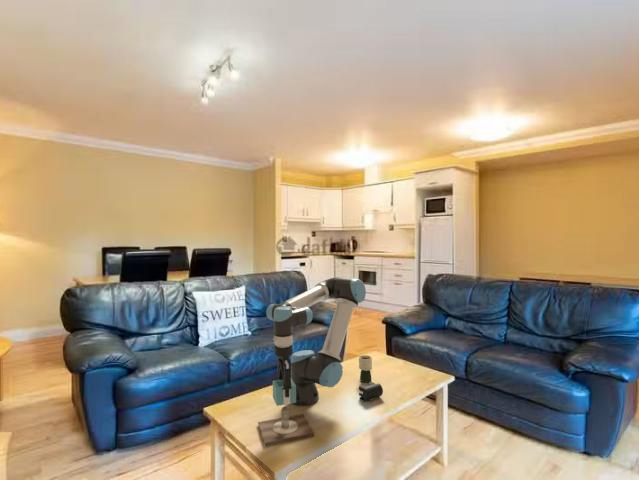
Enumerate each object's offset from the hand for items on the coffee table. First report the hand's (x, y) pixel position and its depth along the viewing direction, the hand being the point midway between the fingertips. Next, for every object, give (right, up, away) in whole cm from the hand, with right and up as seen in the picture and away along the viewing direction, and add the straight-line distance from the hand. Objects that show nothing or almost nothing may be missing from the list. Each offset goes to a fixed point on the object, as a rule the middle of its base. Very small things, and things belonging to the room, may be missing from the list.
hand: (284, 399), depth 147 cm
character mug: (+40, -12, +49) cm, 64 cm away
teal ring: (0, 0, 0) cm, 0 cm away
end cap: (+40, -12, +27) cm, 50 cm away
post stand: (0, -13, 0) cm, 13 cm away
